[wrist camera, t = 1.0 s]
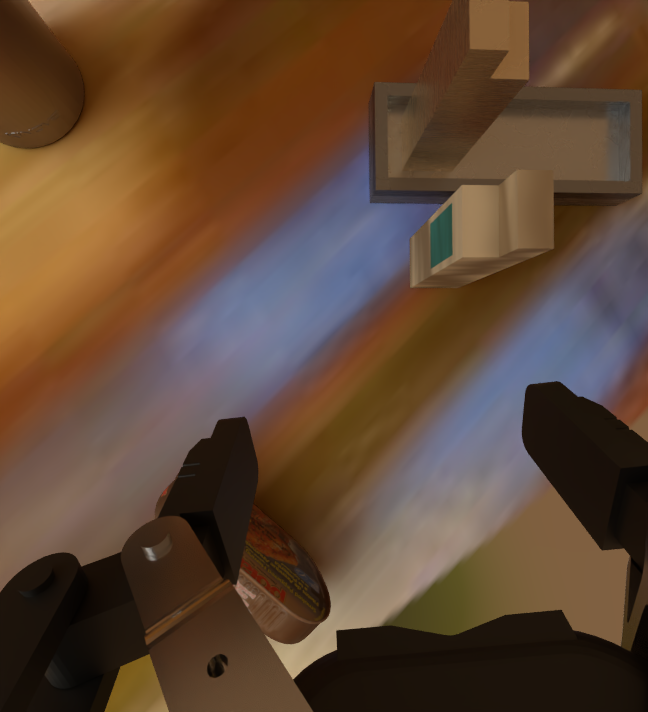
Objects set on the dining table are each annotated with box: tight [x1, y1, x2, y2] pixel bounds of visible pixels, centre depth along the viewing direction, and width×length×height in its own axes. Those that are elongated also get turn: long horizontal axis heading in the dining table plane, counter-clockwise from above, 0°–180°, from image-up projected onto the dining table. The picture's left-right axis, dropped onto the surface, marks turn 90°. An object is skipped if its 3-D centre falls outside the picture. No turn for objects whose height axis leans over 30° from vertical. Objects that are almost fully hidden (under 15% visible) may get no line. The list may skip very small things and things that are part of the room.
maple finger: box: [410, 170, 554, 288], centre depth 28 cm, size 4×4×13 cm
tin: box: [155, 473, 331, 644], centre depth 29 cm, size 15×3×8 cm, turn 47°
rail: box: [369, 0, 642, 206], centre depth 27 cm, size 22×8×14 cm, turn 91°
